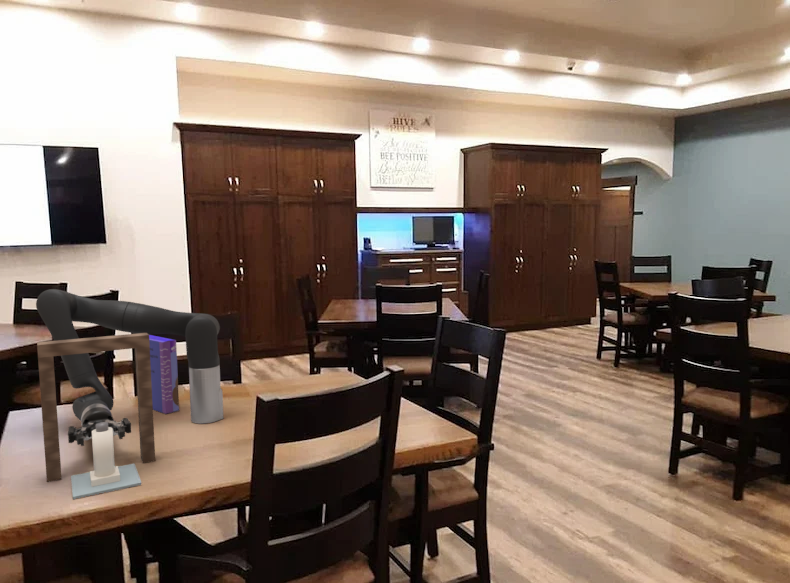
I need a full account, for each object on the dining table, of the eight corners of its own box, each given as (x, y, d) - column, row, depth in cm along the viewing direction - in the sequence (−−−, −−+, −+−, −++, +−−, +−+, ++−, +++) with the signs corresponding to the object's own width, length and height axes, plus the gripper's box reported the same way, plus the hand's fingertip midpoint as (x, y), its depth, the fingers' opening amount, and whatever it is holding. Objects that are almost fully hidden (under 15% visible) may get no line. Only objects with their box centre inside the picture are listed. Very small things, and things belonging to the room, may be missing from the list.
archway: (153, 455, 151) (146, 332, 147) (155, 460, 147) (149, 335, 144) (46, 475, 138) (37, 342, 135) (46, 482, 135) (37, 345, 131)
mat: (134, 465, 144) (134, 463, 144) (141, 484, 133) (141, 482, 133) (71, 478, 137) (70, 475, 137) (72, 499, 126) (72, 497, 126)
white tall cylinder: (117, 471, 139) (114, 418, 138) (120, 480, 134) (117, 425, 133) (90, 477, 136) (86, 422, 135) (91, 486, 131) (88, 429, 129)
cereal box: (179, 410, 189) (176, 339, 186) (165, 414, 185) (162, 341, 182) (151, 401, 199) (148, 333, 197) (138, 404, 196) (134, 335, 193)
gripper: (66, 411, 150) (67, 429, 136) (125, 402, 158) (132, 418, 144) (67, 438, 151) (69, 459, 137) (126, 428, 158) (134, 447, 145)
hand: (102, 438), depth 140 cm, fingers open, 8 cm apart
